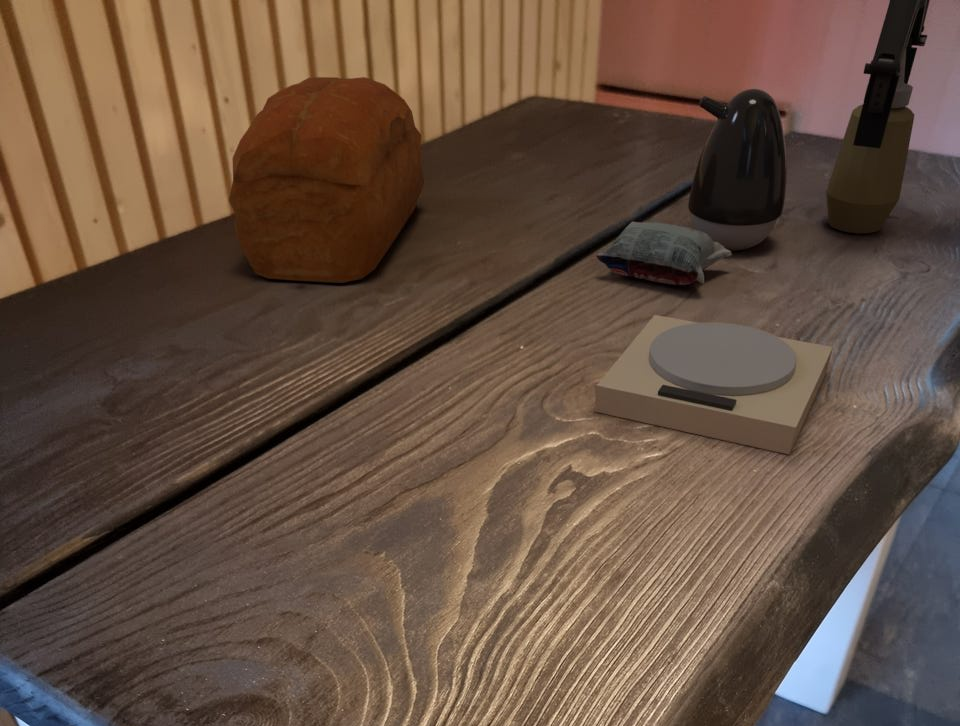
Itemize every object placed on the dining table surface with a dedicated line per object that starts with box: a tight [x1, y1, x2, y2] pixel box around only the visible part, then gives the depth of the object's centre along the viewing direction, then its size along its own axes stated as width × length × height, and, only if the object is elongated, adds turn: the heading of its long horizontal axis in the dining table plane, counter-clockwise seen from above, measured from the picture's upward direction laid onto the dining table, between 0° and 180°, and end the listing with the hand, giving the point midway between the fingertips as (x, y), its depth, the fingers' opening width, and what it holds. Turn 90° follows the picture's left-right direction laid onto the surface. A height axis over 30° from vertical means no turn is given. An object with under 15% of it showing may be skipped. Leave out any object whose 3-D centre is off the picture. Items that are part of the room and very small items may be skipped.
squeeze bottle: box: [825, 50, 915, 234], centre depth 101 cm, size 8×8×18 cm
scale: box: [594, 314, 834, 456], centre depth 77 cm, size 16×15×3 cm
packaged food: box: [595, 221, 733, 286], centre depth 96 cm, size 9×12×5 cm
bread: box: [228, 76, 425, 284], centre depth 101 cm, size 16×27×16 cm, turn 170°
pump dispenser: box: [687, 88, 788, 252], centre depth 99 cm, size 10×10×15 cm
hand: (876, 129), depth 101 cm, fingers open, 13 cm apart
